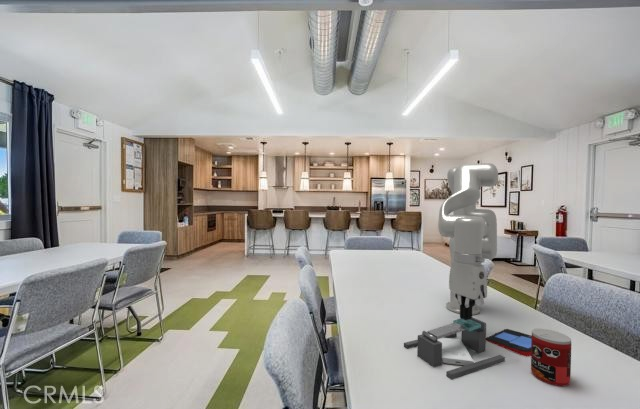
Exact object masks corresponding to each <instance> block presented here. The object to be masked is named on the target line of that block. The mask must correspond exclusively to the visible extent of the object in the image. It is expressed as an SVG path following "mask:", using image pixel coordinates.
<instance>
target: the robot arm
mask: <svg viewBox="0 0 640 409" xmlns="http://www.w3.org/2000/svg"><path fill="white" fill-rule="evenodd" d="M446 179H447V182H448V187H449V189H450V192H451V195H450V196H448V197H447V198H446V199H445V200H444V201H443V202H442V204H441V206H440V208H439V214H438V223H437V224H438V225H437V227H438V232H439V234H440V235H441V237H444V238H449V241H448V246H449V247H448V248H449V253H450V269H449V274H448V288H449V290H450V291H449V292H450V293H449V294H450V295H449V302H446V304H445V307H446V308H447V310H449V311H451V312H453V313H457V314H459V319H460V318H461V319H463V320H468V319H471V318H472V317H473V315H478V314H480V308H479V307H478V306H477V305H479V306H481V305H484V304H485V301H484V299H486V298H487V297H488V281H487V272H486V269H485V265H484V264H482V263H485V261H486V260H493V259H495V258H496V256H497V254H498V253H497V252H498V223H497V216H496V215H497V214H496V213H495V212H494V211H493V210H492V209H487V208H477V204H476V203H478V201H480V198H481V191H480V189H481V188H480V187H484V188H485V187H487V188H488V187H494V186H496V185H497V183H498V179H499V171H498V168H497V166H496V165H495V164H494V163H465V164H461V165H459V166H454V167H452V168H449V170H448V171H447V178H446ZM451 213H453V214H451Z"/></svg>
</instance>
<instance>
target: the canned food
mask: <svg viewBox="0 0 640 409" xmlns="http://www.w3.org/2000/svg"><path fill="white" fill-rule="evenodd" d="M531 336H532V337H531V356H530V371H531V373H532V375H533V376H534V378H536V379H537V380H540V381H541V382H544V383H546V384H549V385H552V386H557V387H558V386H559V387H565V386H568V385H569V384H570V382H571V377H572V376H571V374H572V373H571V372H572V371H571V370H572V369H571V368H572V366H571V365H572V339H571V337H570V336H568V335H566V334H565V333H562V332H559V331H556V330H552V329H548V328H533V329H532V330H531Z"/></svg>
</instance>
